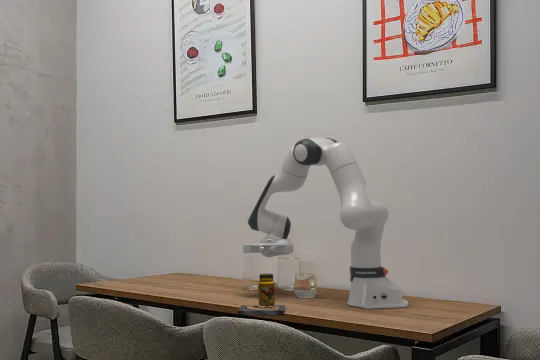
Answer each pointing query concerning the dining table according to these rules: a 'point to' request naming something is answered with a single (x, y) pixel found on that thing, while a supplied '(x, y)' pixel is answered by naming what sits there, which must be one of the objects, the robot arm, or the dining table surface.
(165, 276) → the dining table surface
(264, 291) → the condiment
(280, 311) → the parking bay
